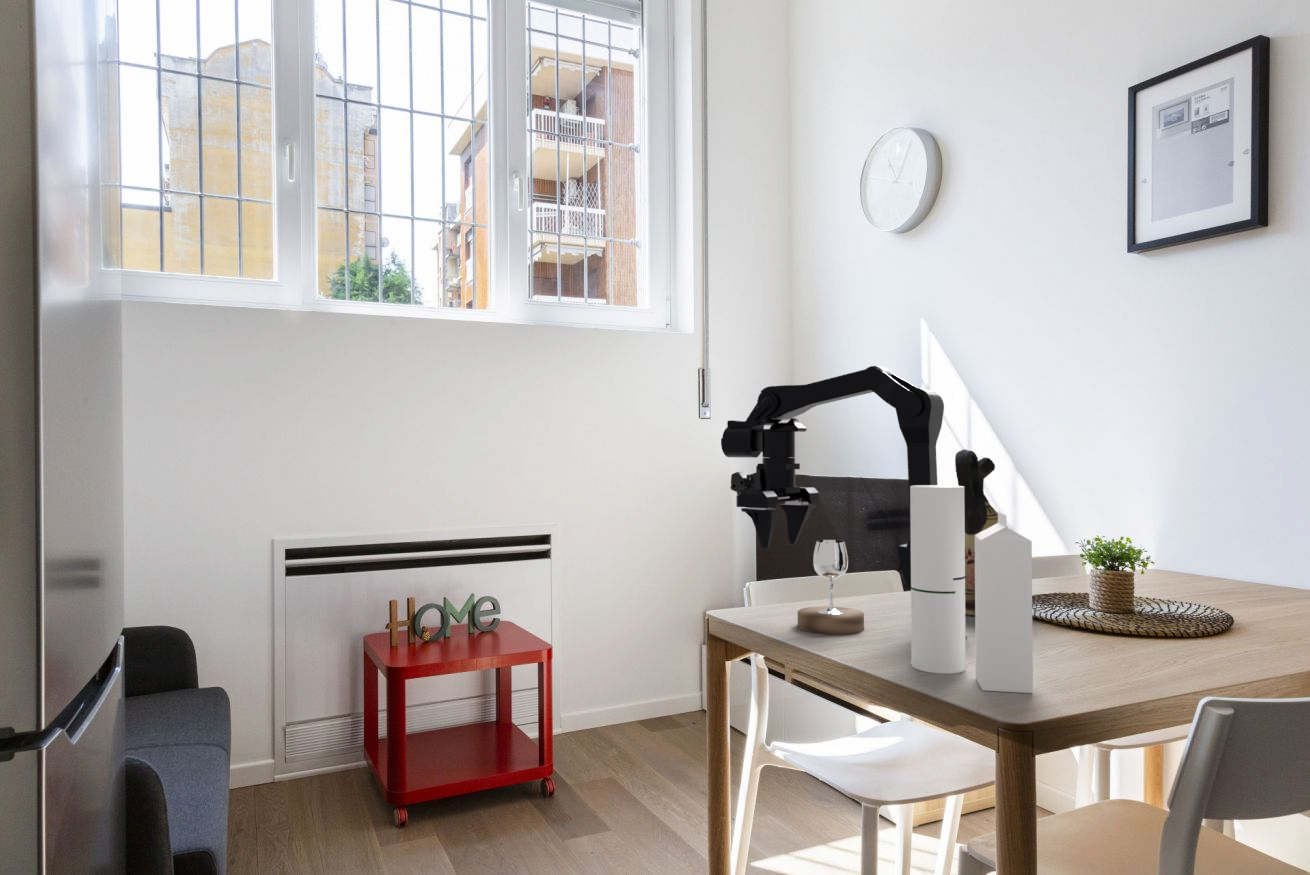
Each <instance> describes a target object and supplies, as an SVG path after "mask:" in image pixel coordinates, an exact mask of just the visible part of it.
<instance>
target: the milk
mask: <svg viewBox="0 0 1310 875" xmlns="http://www.w3.org/2000/svg"><path fill="white" fill-rule="evenodd" d="M997 513H998V523H997V524H995V525H993V526H991V527H989V528H987V529H986V530H984V531H982V532H980V533H978V534H976V535H975V615H974V616H975V617H974V622H975V625H974V626H975V628H974V629H975V634H974V635H975V638H974V639H975V640H974V641H975V648H974V649H975V679H976V681H977V683H978V685H979V688H980V689H981V691H985V692H986V691H987V692H1002V693H1019V694H1020V693H1021V694H1033V693H1034V683H1033V682H1034V673H1033V672H1034V670H1033V668H1034V667H1033V666H1034V665H1033V663H1034V662H1033V657H1034V656H1033V561H1032V559H1033V558H1032V557H1033V553H1032V552H1033V550H1032V549H1033V546H1032V543H1033V542H1032V540H1030V539H1029V538H1027V537H1025V536H1023V535H1022V534H1019V533H1018V532H1016V531H1015V530H1013V529H1011V528H1009V527H1008V526H1007V514H1005V513H1003V512H1001V511H997Z"/></svg>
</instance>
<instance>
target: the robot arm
mask: <svg viewBox="0 0 1310 875" xmlns="http://www.w3.org/2000/svg"><path fill="white" fill-rule="evenodd" d="M871 393H874V394H876V396H878V397H879V398H880V399H881V400H883V402H885V403H886V404H888V405H889V406H891V407H892V408H894V409H895V412H896V418H897V423H898V427H899V429H900V431H901V434H902V437H903V439H904V442H905V444H906V450H907V451H906V455H907V456H906V457H907V458H906V459H907V479H908V504H909V508H908V509H909V511H910V486H915V485H938V469H937V468H938V466H937V464H938V463H937V442H938V439H939V436H940V434H941V430H942V425H943V419H944V411H945V404H944V400H943V398H942V397H941V396H940V395H939V394H938V393H937V392H936V391H934V390H932V389H926V388H920V387H917V386H915V385H914V384H911V383H910V382H909V381H906V380H905V379H903V378H901V377H900V376H897V375H896V374H894V373H893V372H891V370H889V369H888V368H886V367H883V366H877V365H870V366H869V367H866V368H865V369H862V370H861V369H860V370H857V371H854V372H850V373H846V374H842V375H838V376H834V377H829V378H825V379H822V380H818V381H815V382H810V383H806V384H790V385H789V384H788V385H785V384H784V385H770V386H766V387H764V388H762V389H761V391H760V393H759V395H758V398H757V403H756V404H755V406H754V407H753V408H752V410H751V412H750V413H749V415H748V416H747V418H746V420H744V421H741V420H727V421H726V422H727V425H726V426H727V427H726V428H725V429H724V431H723V434H722V436H721V439H720V445H721V450H722V453H723V454H724V456H725V457H727V458H755V459H756V458H758V457H759V456H760V455H761V453H762V457H761V458H762V459H761V460H762V462H761V463H757V465H756V469H755V470H756V472H754V473H750V474H746V473H745V472H743V471H735V472H734V473H732V474H731V477H730V488H729V489H730V490H731V491H734V492H736V494H737V495H736V497H735V498H736V503H735V504H736V507H737V508H740V510H741V512H744V513H745V514H747V515H748V516H749V517H750V519H751V520H752V524H753V525H754V528H755V531H756V534H757V537H758V540H759V542H760V546H761V548H762V549H766V550H767V549H769V547H770V544H771V541H772V537H773V532H774V529H775V524H776V521H777V516H778V512H779V509H777V508H776V506H777V504H778V503H779V506H780V508H781V509H782V510H783V512H784V513H785V516H786V517H785V518H786V525H787V527H786V528H787V536H788V542H789V544H790V545H795V544H797V542H798V539H799V537H800V535H801V533H802V530H803V529H804V526H805V524H806V522H807V520H808V518H809V517H810V516H811V513H812V511H813V509H814V508H815V507H816V505H815V504H818V503H819V502H820V500H819V499H820V498H819V497H820V496H819V495H820V493H819V491H818V490H817V489H816V487H814V486H813V487H811V486H810V487H809V486H806V487H805V486H796V470H800V469H801V465H800V463H796V433H797V432H799V433H800V432H806V431H808V430H807V427H806V426H805V425H803V423H801V422H800V420H799V419H798V418H796V417H798V416H801V415H802V414H804V413H807V412H808V411H810V410H811V409H812V408H813V409H814V408H815V407H818V406H820V405H821V406H822V405H825V404H829V403H833V402H838V401H840V400H841V401H842V400H846V399H850V398H854V397H859V396H863V395H867V394H871ZM783 420H787V422H782V421H783ZM788 420H789V421H788ZM765 426H770V427H769V428H765ZM780 503H781V504H780ZM909 528H910V530H909V531H910V532H909V538H908V540H907V543H904V544H900V545H898V546H897V553H898V559H899V564H898V565H899V566H898V568H897V572H898V573H900V572H901V575H902V576H901V577H902V580H903V583H904V584H906V586H908V588H909V589H910V590H911V519H910V518H909ZM965 588H966V587H965ZM965 637H966V640H967V639H968V636H967V635H966V634H965Z"/></svg>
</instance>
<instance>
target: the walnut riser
mask: <svg viewBox="0 0 1310 875" xmlns="http://www.w3.org/2000/svg"><path fill="white" fill-rule="evenodd" d="M828 606H829V605H828ZM828 606H824V605H823V606H820V605H819V606H808V607H803V608H800V609H798V610H797V628H798V629H800V630H802V631H803V632H808V633H814V634H819V635H820V634H822V635H850V634H851V633H852V634H857V633H861V632H863V631H864V630H865V612H863V611H862V610H860V609H859V610H858V609H856V608H850V607H844V606H843V607H842V606H834V607H835V608H836V609H838V610H841V611H844V612H845V613H844V614H840V615H826V614H820V613H818V611H819V610H823V609H826V608H827V607H828Z"/></svg>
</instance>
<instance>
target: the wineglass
mask: <svg viewBox="0 0 1310 875" xmlns="http://www.w3.org/2000/svg"><path fill="white" fill-rule="evenodd" d="M812 560H813V562H812V563H813V564H812V565H813V568H814V571H815V573H816V574H817V575H819V576H820V577H821V578H824V579H827V580H828V581H827V582H828V583H827V588H828V593H829V594H828V595H829V604H828V607H827V608H826V609H823V610H819V611H818V613H820V614H826V615H840V614H844V613H845V612H844V611H841V610H838V609H836V608H835V607H836V606H835V605H834V603H833V591H834V587H835V585H834V582H833V580H835V579H838V578H840V577H842V576H844V575H845V573H846V572H847V570H848V568H849V567H848V566H849V556H848V551H847V547H846V542H845V541H844V540H840V539H819V540H816V542H815V546H814V551H813V559H812Z"/></svg>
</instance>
